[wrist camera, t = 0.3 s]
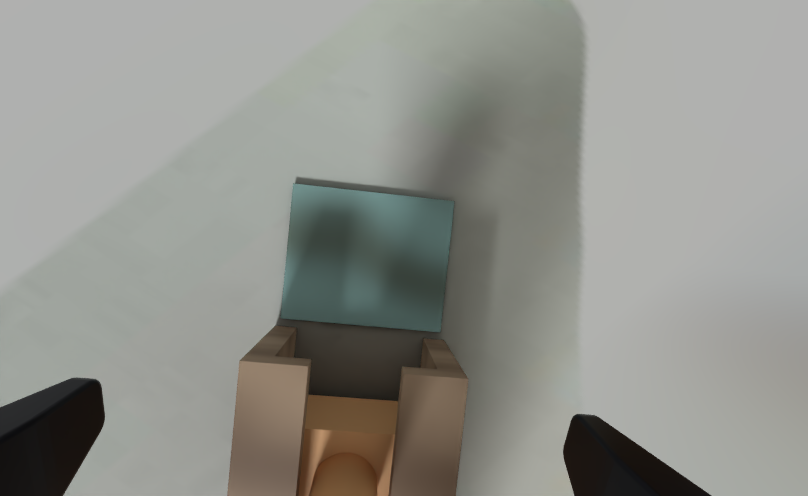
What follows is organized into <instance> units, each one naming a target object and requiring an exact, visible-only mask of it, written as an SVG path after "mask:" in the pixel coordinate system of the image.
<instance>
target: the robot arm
mask: <svg viewBox="0 0 808 496" xmlns="http://www.w3.org/2000/svg"><path fill="white" fill-rule="evenodd" d="M104 420H105V412H104V404H103V395H102V387H101V384H100V382H99V381H98V380H96V379H89V378H71V379H68V380H66V381H63V382H61V383H59V384H56V385H54V386H51V387H49V388H46V389H44V390H42V391H39V392H37V393H34V394H32V395H29V396H27V397H25V398H22V399H20V400H17V401H15V402H12V403H10V404H8V405H5V406H3V407H0V496H63V495H64V493H65V491H66V490H67V488H68V486H69V485H70V483H71V481H72V479H73V478H74V476H75V474H76V473H77V471H78V469H79V467H80V466H81V464H82V462H83V461H84V459H85V457H86V456H87V454H88V452H89V450H90V449H91V447H92V445H93V444H94V442H95V440H96V438H97V437H98V435H99V433H100V431H101V429H102V427H103V424H104ZM563 455H564V461H565V464H566V468H567V471H568V475H569V478H570V482H571V485H572V489H573V492H574V496H711V495H709V494H708V493H707V492H705V491H704V490H703V489H701V488H700V487H698V486H697V485H695V484H694V483H692V482H691V481H690V480H688V479H687V478H685V477H684V476H682V475H681V474H679V473H678V472H676V471H675V470H674V469H672V468H671V467H669V466H668V465H666V464H665V463H664V462H662V461H661V460H659V459H658V458H656V457H655V456H654V455H652V454H651V453H649V452H648V451H646V450H645V449H644V448H642V447H641V446H639V445H638V444H636V443H635V442H633V441H632V440H631V439H629V438H628V437H626V436H625V435H623V434H622V433H620V432H619V431H618V430H616V429H615V428H613V427H612V426H610V425H609V424H608V423H606V422H604V421H603V420H602V419H600V418H599V417H597V416H595V415H586V414H576V415H574V416H573V418H572V420H571V423H570V427H569V430H568V433H567V437H566V440H565V444H564V449H563Z"/></svg>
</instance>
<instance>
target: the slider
mask: <svg viewBox="0 0 808 496" xmlns="http://www.w3.org/2000/svg"><path fill="white" fill-rule="evenodd" d="M397 409H398V401H388V400H375V399H361V398H348V397H334V396H321V395H308V402H307V413H306V423H305V433H304V443H303V454H302V464H301V474H300V485H299V495H298V496H388V495H389V486H390V476H391V467H392V457H393V448H394V438H395V428H396V419H397Z"/></svg>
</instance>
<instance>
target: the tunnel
mask: <svg viewBox="0 0 808 496" xmlns="http://www.w3.org/2000/svg"><path fill="white" fill-rule="evenodd" d="M453 210H454V201H448V200H439V199H430V198H421V197H412V196H403V195H393V194H384V193H375V192H366V191H357V190H348V189H339V188H330V187H321V186H312V185H303V184H294V183H293V192H292V202H291V213H290V224H289V234H288V245H287V256H286V266H285V277H284V287H283V298H282V309H281V318H282V319H293V320H305V321H316V322H328V323H339V324H350V325H362V326H373V327H385V328H396V329H408V330H419V331H431V332H440V331H441V322H442V312H443V303H444V294H445V285H446V275H447V266H448V257H449V248H450V238H451V229H452V220H453ZM296 333H297V327H286V326H275V327H274V328H273V329H272V330H271V331H270V332H269V333H267V334H266V335H265V336H264V337H263V338H262V339H261V340H260V341H259V342H258V343H257V344H256V345H255V346H254V347H253V348H252V349H251V350H250V351H249V352H248V353H247V354H246V355H245V356H244V357H243V358H242V359H241V360H240V362H239V373H238V384H237V395H236V406H235V417H234V428H233V439H232V450H231V461H230V472H229V483H228V494H227V496H298V495H299V485H300V474H301V464H302V454H303V443H304V433H305V423H306V413H307V402H308V392H309V382H310V371H311V361H312V359H304V358H294V354H295V344H296ZM467 388H468V378H467V376H466V374H465V373H464V371H463V370H462V368H461V367H460V365H459V363H458V362H457V360H456V359H455V357H454V355H453V354H452V352H451V351H450V349H449V348H448V346H447V344H446V343H445V341H444V340H437V339H426V338H423V345H422V355H421V364H420V368H415V367H403V366H402V371H401V381H400V390H399V400H398V409H397V419H396V428H395V438H394V448H393V457H392V467H391V476H390V486H389V495H388V496H456V487H457V478H458V469H459V460H460V451H461V442H462V433H463V424H464V415H465V406H466V397H467Z"/></svg>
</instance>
